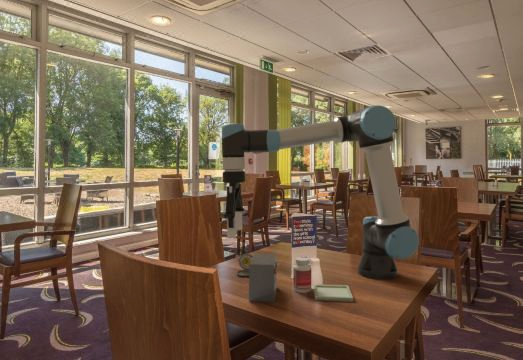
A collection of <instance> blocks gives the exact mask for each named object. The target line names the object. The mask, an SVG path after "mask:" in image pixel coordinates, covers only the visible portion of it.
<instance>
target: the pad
mask: <svg viewBox="0 0 523 360" xmlns="http://www.w3.org/2000/svg"><path fill="white" fill-rule="evenodd" d="M313 294H314V301H320V302H321V301H323V302H324V301H326V302H354V297H353V294H352V292H351V289H350V287H349V285H348V284H347V285H346V284H344V285H343V284H317V285H314V284H313Z"/></svg>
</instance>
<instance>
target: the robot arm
mask: <svg viewBox="0 0 523 360" xmlns="http://www.w3.org/2000/svg"><path fill="white" fill-rule="evenodd" d="M396 127H397V120H396V117H395V115H394V112H393V111H392V110H390V109H389V108H387V107H386V106H384V105H380V104H378V105H370V106H367V107H364V108H363V109H360V110H356V111H354V112H352V113H349V114H346V115H344V116H338V117H335V118H333V120H330V121H324V122H318V123H311V124H305V125H298V126H291V127H287V128H285V127H284V128H279V129H269V128H268V129H250V130H249V129H245V125H244V124H243V123H225V124H223V125H222V126H221V155H222V156H221V158H222V159H221V161H220V164H221V165H222V170H223V172H222V182H223V183H225V184H226V183H227V184H228V186H226V201H225V213H224V215H223V216H224V217H223V218H224V219H225V218H226V234H227V235H226V237H227V239H236V238H237V231H243V212H244V211H245V208H244V205H243V196H242V184H241V183H245V181H246V172H245V171H244V170H245V169H246V157H245V156H246V155H245V154H246V153H253V154H256V155H257V154H262V153H269V154H270V153H276V152H279V151H280V150H284V149H285V150H287V149H291V148H293V149H294V148H298V147H304V146H310V145H316V144H322V143H328V142H337V143H346V142H357V143H358V146H359V149H360V150H361V151H363V152H364V153H365V158H366V164H367V169H368V174H369V176H370V184H371V186H372V192H373V197H374V202H375V206H376V213H377V215H376V216H374V215H373V216H365V217H364V218H363V220H362V253H361V254H362V255H361V257H360V260H359V263H358V266H357V274H359V275H361V276H362V277H365V278H368V279H374V280H392V279H395V278H396V279H397V277H398V274H399V271H398V270H399V269H398V266H397V264H396V260H395V259H399V260H404V259H408V258H410V257H411V256H413V255H414V254H415V252H416V251H417V250H418V247H419V245H420V237H419V234H418V233H417V231H416V230H415V228H412V227H411V222H410V217H409V216H408V215H407V214H405V213H404V211H403V206H402V200H401V194H400V191H399V186H398V180H397V174H396V169H395V164H394V160H393V154H392V151H391V146H392V145H393V143H394V136H393V134H394V132H395V130H396V129H397V128H396Z"/></svg>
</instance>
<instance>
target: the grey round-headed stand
mask: <svg viewBox="0 0 523 360" xmlns="http://www.w3.org/2000/svg"><path fill="white" fill-rule="evenodd" d="M246 249H248V250H246ZM243 251H244V252H246V253H243V254H242V255H240V257H239V259H238V264H239V266H240V268H241V269H240V270H237V272H236V275H238V276H239V277H249V263H250V261H251V259H252V257H253V255H252V254H250V253H249V252H250V251H251V249H250V247H245V248H243Z"/></svg>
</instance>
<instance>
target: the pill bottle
mask: <svg viewBox="0 0 523 360" xmlns="http://www.w3.org/2000/svg"><path fill="white" fill-rule="evenodd" d="M292 268H293V274H292V275H293V287H292V288H293V290H294V292H296V293H299V294H300V293H301V294H304V293H305V294H306V293H310V292H311V291H312V266H311V265H310V258H308V257H306V256H305V257H300V256H299V257H296V258H295V264H294V265H293V267H292Z"/></svg>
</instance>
